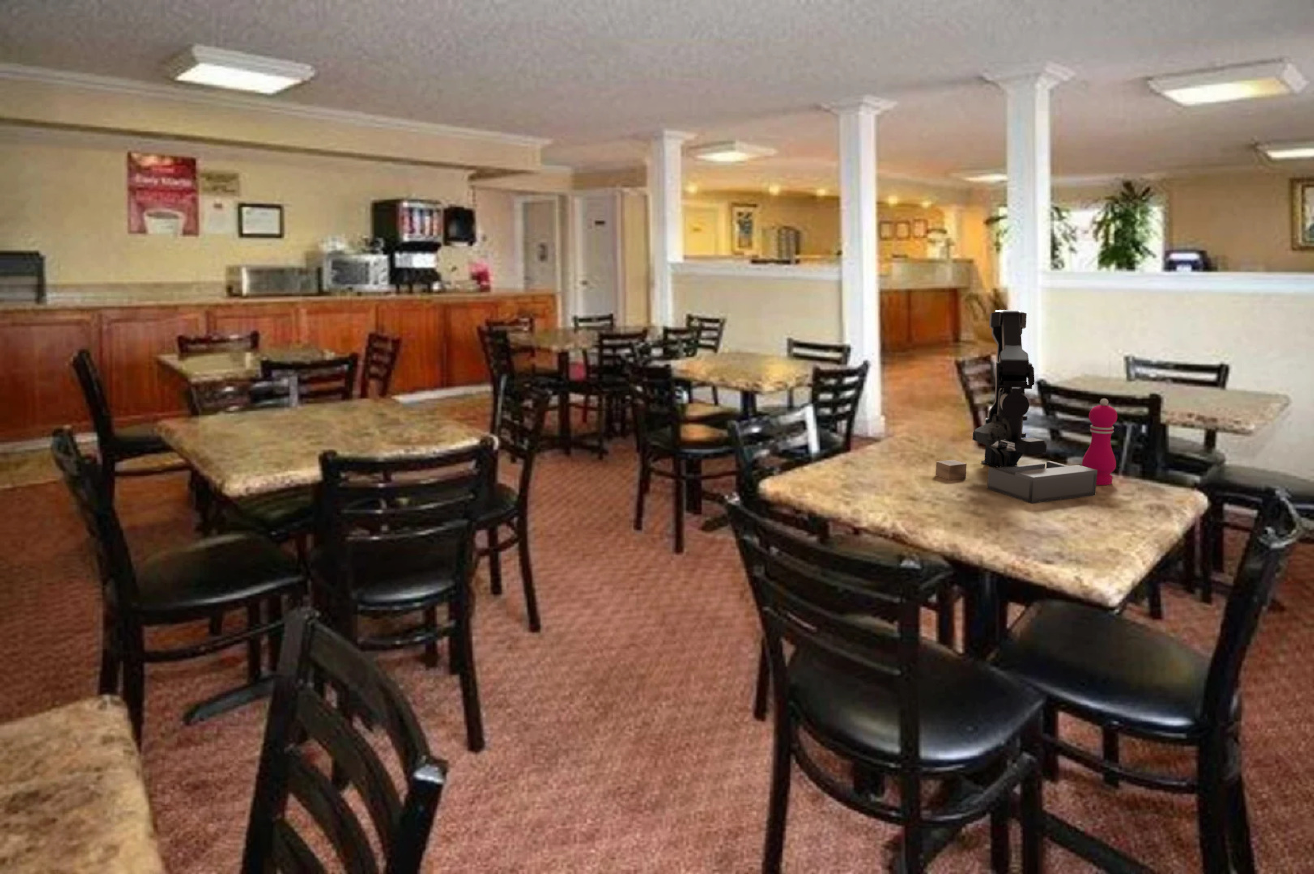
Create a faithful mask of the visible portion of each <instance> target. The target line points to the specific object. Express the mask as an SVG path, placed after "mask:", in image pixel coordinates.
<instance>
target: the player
mask: <svg viewBox="0 0 1314 874" xmlns="http://www.w3.org/2000/svg"><path fill="white" fill-rule="evenodd" d="M996 468H997V467H994V466H991V467H988V470H987V471H988V473H987V488H986V489H987V490H990V491H994V492H996V493H999V494H1002V495H1005V496H1008V497H1011V498H1014V499H1016V500H1020V501H1023V502H1026V503H1030V504H1038V503H1044V502H1045V503H1046V502H1053V501H1060V500H1069V499H1076V498H1085V497H1092V496H1096V493H1097V492H1096V490H1097V489H1096V488H1097V485H1096V481H1097V470H1096V469H1092V468H1088V467H1084V466H1082V465H1079V464H1075V465H1067V464H1062V463H1059V462H1056V461H1055V462H1054V461H1051V460H1047V461H1046V463H1045V469H1038V470H1029V471H1020V472H1015V474H1013V473H1010V472H1006V471H1003V470H1000V469H996Z"/></svg>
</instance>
